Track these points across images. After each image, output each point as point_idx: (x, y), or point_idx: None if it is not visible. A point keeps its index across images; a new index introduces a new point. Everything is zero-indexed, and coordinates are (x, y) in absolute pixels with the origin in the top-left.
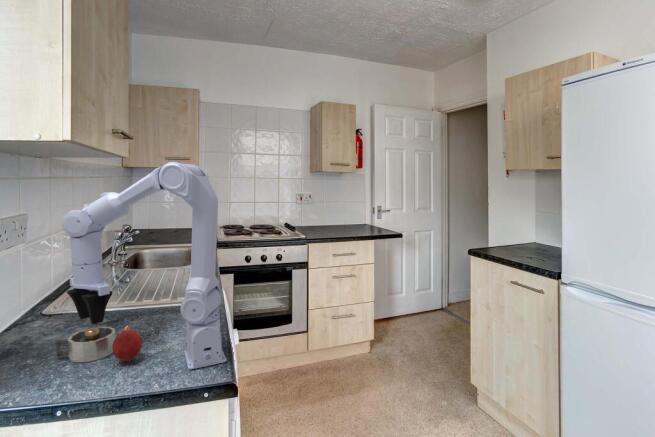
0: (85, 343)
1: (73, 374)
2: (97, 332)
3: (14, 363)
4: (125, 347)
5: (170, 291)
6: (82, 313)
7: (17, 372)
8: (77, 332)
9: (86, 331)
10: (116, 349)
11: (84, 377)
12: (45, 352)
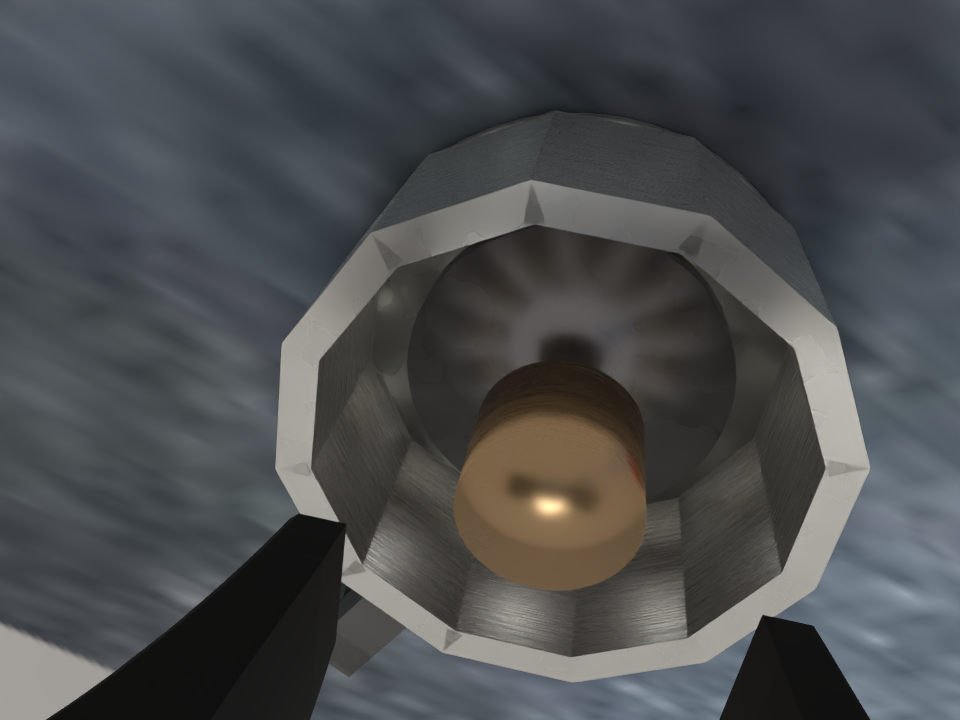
0: (728, 644)
1: None
2: (644, 477)
3: (145, 647)
4: None
5: None
6: (304, 708)
7: (332, 716)
8: (293, 478)
9: (547, 581)
10: None
11: (948, 656)
12: (119, 472)
